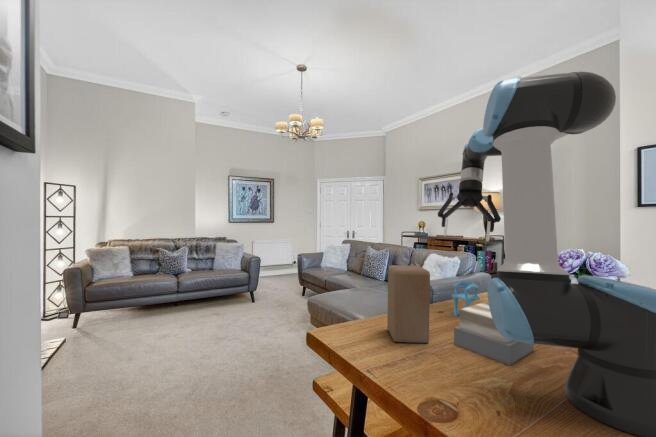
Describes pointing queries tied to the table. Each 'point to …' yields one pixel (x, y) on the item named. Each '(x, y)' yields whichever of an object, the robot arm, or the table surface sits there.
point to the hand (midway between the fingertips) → (465, 238)
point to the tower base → (491, 346)
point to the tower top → (480, 321)
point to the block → (408, 303)
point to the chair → (464, 295)
